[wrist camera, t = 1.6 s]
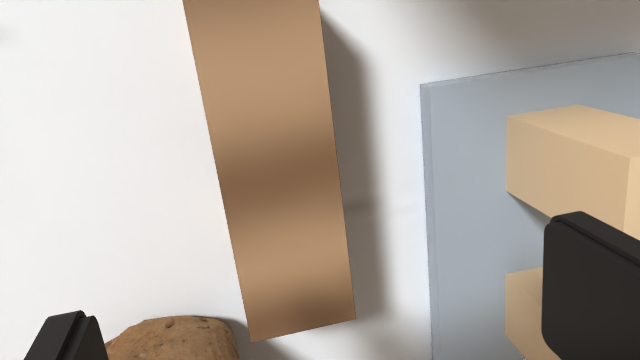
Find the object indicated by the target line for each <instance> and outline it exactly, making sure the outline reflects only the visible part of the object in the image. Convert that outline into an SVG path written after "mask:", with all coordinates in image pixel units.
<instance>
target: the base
mask: <svg viewBox="0 0 640 360" xmlns="http://www.w3.org/2000/svg"><path fill="white" fill-rule="evenodd" d="M420 96H421V117H422V139H423V160H424V181H425V202H426V224H427V245H428V266H429V287H430V308H431V330H432V351H433V360H519V359H523V358H527V360H561V359H560V358H559V357H558V356H557V355H556V354H555V353H554V352H553V351H552V350H551V349H550V348H549V347H548V346H547V345H546V343H545V341H544V339H543V336H542V332H541V317H542V282H543V246H544V228H545V226H546V225H547V224H549V223H550V220H551V218H552V217H554V216H556V215H561V214H566V213H571V212H576V211H582V212H585V213H587V214H589V215H591V216H593V217H595V218H597V219H599V220H601V221H603V222H605V223H607V224H609V225H610V226H612V227H614V228H616V229H618V230H620V231H622V232H624V233H626V234H628V235H630V236H632V237H634V238H636V239H638V240H640V53H627V54H620V55H614V56H607V57H600V58H593V59H587V60H580V61H573V62H567V63H560V64H553V65H546V66H540V67H533V68H526V69H520V70H513V71H506V72H499V73H493V74H486V75H479V76H473V77H466V78H459V79H452V80H446V81H439V82H432V83H426V84H420Z"/></svg>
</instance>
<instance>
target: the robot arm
mask: <svg viewBox="0 0 640 360" xmlns="http://www.w3.org/2000/svg"><path fill="white" fill-rule="evenodd" d="M541 332H542V336H543V339H544V341H545V343H546V345H547V346H548V347H549V348H550V349H551V350H552V351H553V352H554V353H555V354H556V355H557V356H558V357H559V358H560V359H561V360H640V240H638V239H636V238H634V237H632V236H630V235H628V234H626V233H624V232H622V231H620V230H618V229H616V228H614V227H612V226H610V225H609V224H607V223H605V222H603V221H601V220H599V219H597V218H595V217H593V216H591V215H589V214H587V213H585V212H582V211H576V212H571V213H566V214H561V215H556V216H554V217H552V218H551V220H550V223H549V224H547V225H546V226H545V228H544V246H543V282H542V317H541ZM24 360H109V358H108V355H107V351H106V348H105V345H104V341H103V338H102V334H101V331H100V328H99V324H98V321H97V319H96V317H95V316H89V317H86V315H85V313H84V312H83V311H81V310H80V311H75V312H70V313H65V314H60V315H55V316H50V317H48V318H47V319H46V321H45V322H44V324H43V326H42V328H41V330H40V331H39V333H38V335H37V337H36V339H35V340H34V342H33V344H32V346H31V348H30V349H29V351H28V353H27V355H26V357H25V358H24Z"/></svg>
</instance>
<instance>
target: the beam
mask: <svg viewBox="0 0 640 360" xmlns="http://www.w3.org/2000/svg"><path fill="white" fill-rule="evenodd" d="M183 5H184V10H185V15H186V20H187V25H188V30H189V35H190V40H191V45H192V50H193V55H194V60H195V65H196V70H197V75H198V80H199V85H200V90H201V95H202V100H203V105H204V110H205V115H206V120H207V125H208V130H209V135H210V140H211V145H212V149H213V154H214V159H215V164H216V169H217V174H218V179H219V184H220V189H221V194H222V199H223V204H224V209H225V214H226V219H227V224H228V229H229V234H230V239H231V244H232V249H233V254H234V259H235V264H236V269H237V274H238V279H239V284H240V289H241V294H242V299H243V304H244V309H245V313H246V318H247V323H248V328H249V333H250V338H251V343H254V342H258V341H262V340H267V339H271V338H275V337H280V336H284V335H288V334H293V333H297V332H301V331H306V330H310V329H314V328H319V327H323V326H327V325H332V324H336V323H340V322H345V321H349V320H353V319H356V315H355V306H354V298H353V289H352V281H351V272H350V264H349V255H348V247H347V238H346V230H345V221H344V213H343V205H342V196H341V188H340V179H339V171H338V162H337V154H336V145H335V137H334V128H333V120H332V111H331V103H330V94H329V86H328V77H327V69H326V60H325V52H324V43H323V35H322V26H321V18H320V9H319V1H318V0H183Z"/></svg>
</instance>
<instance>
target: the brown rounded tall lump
mask: <svg viewBox="0 0 640 360" xmlns="http://www.w3.org/2000/svg"><path fill="white" fill-rule="evenodd" d="M104 345H105V348H106V351H107V355H108V358H109V360H239V355H238V350H237V346H236V341H235V339H234V336H233V333H232V331H231V330H230V329H229V327H228V326H227V325H226V323H224V322H222V321H220V320H218V319H214V318H199V317H191V316H171V317H163V318H155V319H149V320H144V321H142V322H141V323H139V324H137V325H134V326H131V327H129V328H127V329H126V330H125V331H124V332H123V333H121V334H120V335H119V336H118V337H116V338H114V339H112V340H111V341H109V342H107V343H105V344H104Z"/></svg>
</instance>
